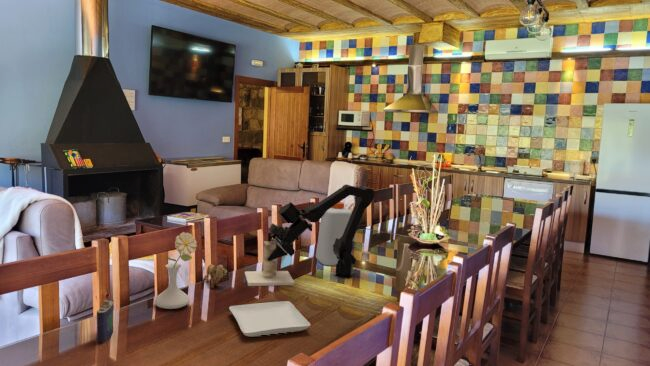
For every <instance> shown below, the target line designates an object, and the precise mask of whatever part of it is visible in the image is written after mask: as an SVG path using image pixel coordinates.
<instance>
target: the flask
mask: <svg viewBox="0 0 650 366" xmlns="http://www.w3.org/2000/svg"><path fill="white" fill-rule="evenodd" d="M113 333H114V301H113V300H111V299H110V300H106V299H104V300H103V305H102V306H101V307H100V308H99V309H98V310H97V311H96V343H97V344H98V343H99V345H103V343H104V344H106V343H107V342H108V341H109V340H110V339H111V338H112V336H113Z"/></svg>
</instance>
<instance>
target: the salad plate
mask: <svg viewBox="0 0 650 366" xmlns="http://www.w3.org/2000/svg"><path fill="white" fill-rule="evenodd" d="M228 309H229V311H230V313H231V314H232V316H233V317H234V318H235V320H236V322H237V324H238V327H239V328H240V331H241V332H242V333H243V335H244V336H246V337H250V338H251V337H252V338H253V337H262V336H261V335H267V336H271V335H270V334H276V335H279V334H278V333H284V334H288V333H287V332H291V333H294V332H300V331H301V332H302V331H304V330H307V329H309V327H311V326H312V324H311V323H310V322H309V321H308V319H306V317H304V316H303V314H301V312H300V311H299V310H298V309H297V308H296V306H295V305H294V304H293V303H292V302H291V301H289V300H285V301H270V302H261V303H259V302H258V303H248V304H237V305H230V306H229V308H228Z"/></svg>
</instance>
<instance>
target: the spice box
mask: <svg viewBox="0 0 650 366" xmlns="http://www.w3.org/2000/svg"><path fill="white" fill-rule="evenodd" d="M262 249H263V250H262V251H263V252H262V273H263V274H264V276H276V271H278V269H277V267H278V258H276V259H274V260H271V261H268V258H269V256H270V255H271V254H272V252H273V251H274V250H275V249H276V242H275V241H271V240H270V241H269V240H268V241H267V240H266V241H265V240H264V241H263V248H262Z"/></svg>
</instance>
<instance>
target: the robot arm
mask: <svg viewBox="0 0 650 366" xmlns="http://www.w3.org/2000/svg"><path fill="white" fill-rule="evenodd" d="M349 196H353V197H354V206H353V209H352V210H351V212H352V213H351V216H350V218H349V221H348V223H347V226H346V228H345V231H344V233H343V235H342V237H341V238H340V239H338V238H336V240H335V243H334V245H333V252H334V254H335V255H336V257H337V259H339V260H338V262H337V264H336V266H335V274H334V275H335V276H336V277H340V278H346V279H351V278H352V277H353V276H354V275H355V273H354V272H353V271H354V265H355V263H356V261H357V259H356V258H355V256H354V255H353V247H354V246H353V244H354V243H353V241H354V238H355V236H356V234H357V231H358V228H359V225H360V223H361V220H362V218H363V216H364V214H365V210H366V209H368V207H369V206H370V205H372V203H373V200H374V199H375V196H376V193H375V191H374V189H372V188H371V187H367V186H364V185H363V186H360V187H357V186H354V185H350V184H346V183H345V184H343V186H341V187H340V188H338V189H337V190H336V191H334V192H332V194H329V195H328V196H326V197H325V198H324V199H322V200H320V201H319V202H314V203H312V204H310V205H308V206H306V207H304V208H302V209H301V208H300V209H298V208H297V207H296V206H295V205H294V204H293V202H291V201H290V202H289V203H286V204H285V205H284V206H281V208H280V209H279V210H278V212H277V214H279V216H280V217H281V218H282V219H283V220H284V221H285V222H286V223H287V224H290V225H289V226H285V227H284V226H281V225H277V224H274V223H271V224H270V227H269V229H268V232H270V234H269V237H270V241H275V242H276V249H275V250H274V251H273V252H272V254H271V255H270V256H269V258H268V261H271V260H274V259H276V258H277V259H278V258H282V257H284V256H288V255H289V256H290V257H293V256H294V254H295V252H296V251H295V249H294V248H293V246H292V244H293V243H295V241H299V240H300V237H301V235H302V234H303V233H305V231H307V230H308V231H310V232H312V231H313V223H317V222H318V221H319V220H321V218H322V217H323V215H324V214H325V212H326V211H327V210H328V209H330V208H331V207H333V206H334V205H336V204H337V203H339V202H342V201H343V200H345V199H346V198H347V197H349ZM308 221H309V222H310V223H309V222H308ZM351 253H352V254H351Z"/></svg>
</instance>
